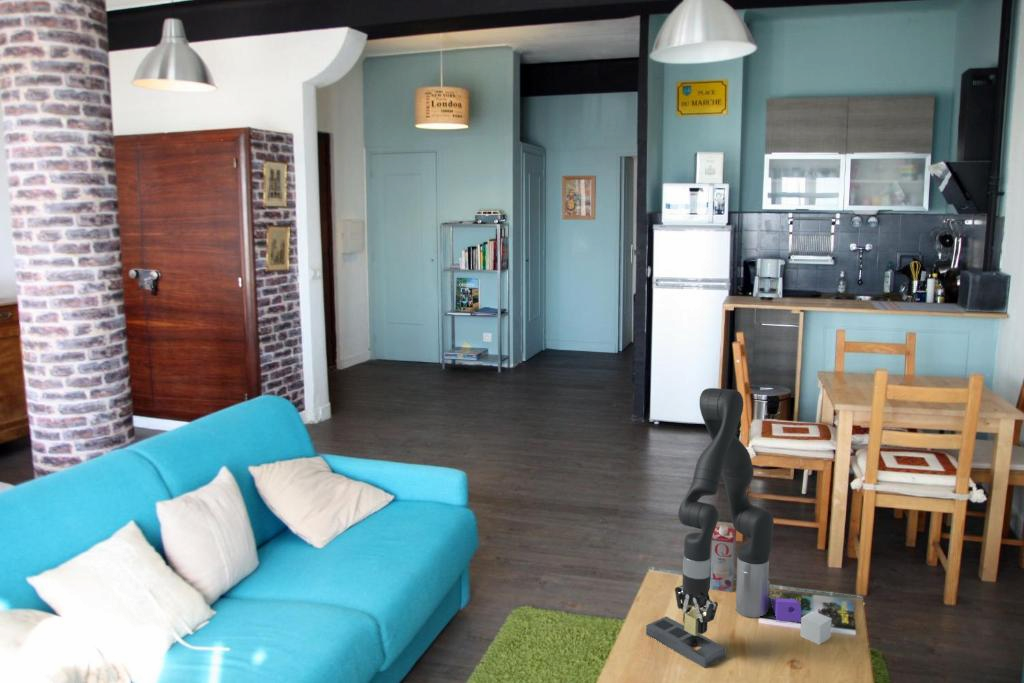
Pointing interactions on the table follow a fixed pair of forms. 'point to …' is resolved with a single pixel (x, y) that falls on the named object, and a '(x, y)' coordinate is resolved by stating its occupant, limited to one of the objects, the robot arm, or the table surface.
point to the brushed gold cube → (692, 622)
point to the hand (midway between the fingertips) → (694, 628)
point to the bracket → (787, 609)
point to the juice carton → (723, 557)
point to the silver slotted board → (685, 642)
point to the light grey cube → (815, 627)
